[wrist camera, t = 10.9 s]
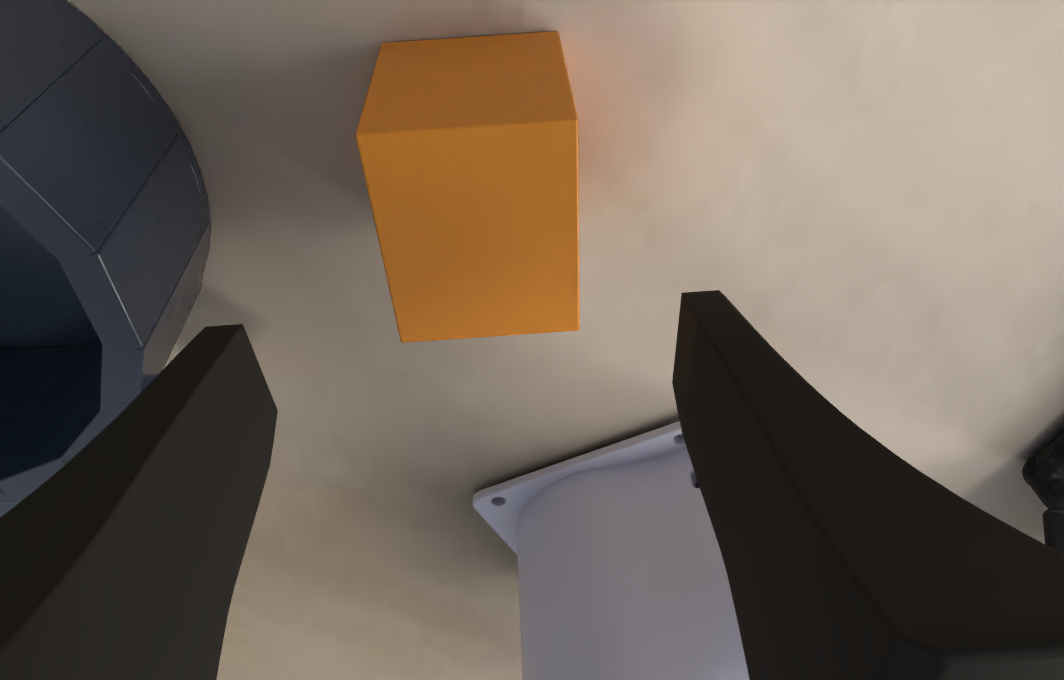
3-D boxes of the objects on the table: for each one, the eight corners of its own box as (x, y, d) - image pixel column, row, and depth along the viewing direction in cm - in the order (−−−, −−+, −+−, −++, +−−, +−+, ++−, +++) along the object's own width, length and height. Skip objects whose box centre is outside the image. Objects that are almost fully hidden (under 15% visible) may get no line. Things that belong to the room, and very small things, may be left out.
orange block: (558, 30, 17) (578, 119, 13) (563, 220, 20) (579, 331, 17) (380, 42, 17) (354, 134, 13) (414, 230, 20) (400, 343, 17)
